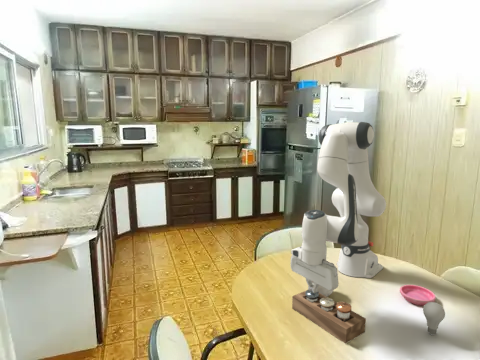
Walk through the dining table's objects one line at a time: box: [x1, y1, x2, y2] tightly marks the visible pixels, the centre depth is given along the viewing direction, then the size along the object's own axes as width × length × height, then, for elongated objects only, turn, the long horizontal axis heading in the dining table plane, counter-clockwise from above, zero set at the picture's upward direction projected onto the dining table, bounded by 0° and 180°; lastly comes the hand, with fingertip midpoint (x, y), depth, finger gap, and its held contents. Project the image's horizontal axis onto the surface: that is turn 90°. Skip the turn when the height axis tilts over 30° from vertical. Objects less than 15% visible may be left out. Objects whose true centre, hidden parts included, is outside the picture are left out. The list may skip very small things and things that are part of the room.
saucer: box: [399, 284, 437, 307], centre depth 125 cm, size 12×12×3 cm
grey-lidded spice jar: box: [305, 289, 319, 303], centre depth 118 cm, size 5×5×6 cm
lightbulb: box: [422, 301, 446, 336], centre depth 103 cm, size 6×6×11 cm
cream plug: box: [320, 297, 335, 312], centre depth 112 cm, size 5×5×6 cm
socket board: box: [291, 289, 367, 345], centre depth 112 cm, size 10×24×5 cm, turn 34°
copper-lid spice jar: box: [336, 301, 352, 322], centre depth 106 cm, size 5×5×6 cm
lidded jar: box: [312, 281, 334, 298], centre depth 129 cm, size 11×11×9 cm
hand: (312, 290), depth 117 cm, fingers closed
